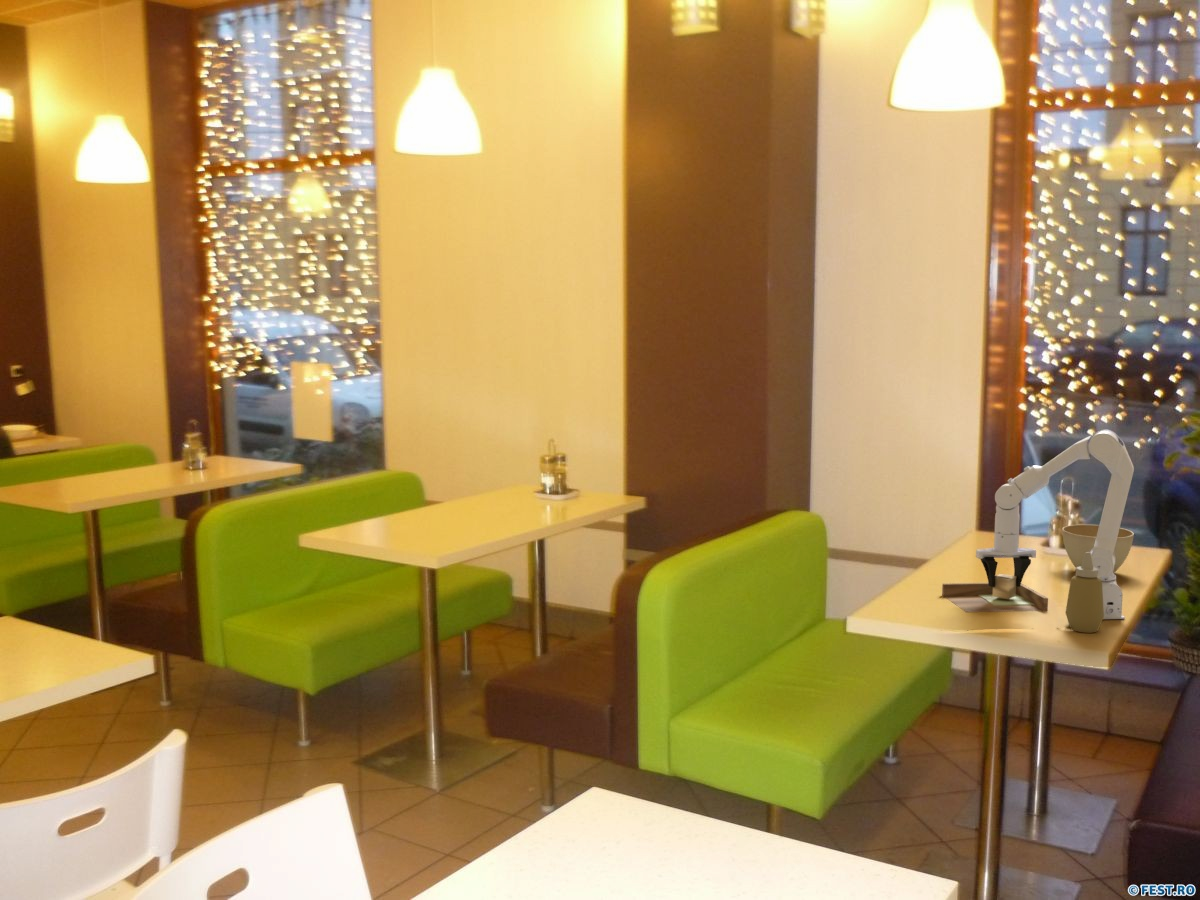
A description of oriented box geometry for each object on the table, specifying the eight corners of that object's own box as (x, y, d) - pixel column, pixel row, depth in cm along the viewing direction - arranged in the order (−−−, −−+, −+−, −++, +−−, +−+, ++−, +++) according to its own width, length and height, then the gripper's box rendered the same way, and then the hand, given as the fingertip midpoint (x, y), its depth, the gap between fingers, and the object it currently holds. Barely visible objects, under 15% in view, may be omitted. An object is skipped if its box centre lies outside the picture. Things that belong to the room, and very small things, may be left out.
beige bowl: (1046, 569, 318) (1048, 527, 317) (1096, 564, 324) (1099, 522, 323) (1094, 583, 301) (1096, 539, 300) (1146, 578, 307) (1149, 534, 306)
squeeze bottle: (1064, 623, 264) (1068, 547, 261) (1102, 627, 261) (1106, 550, 258) (1064, 632, 256) (1068, 554, 254) (1103, 636, 253) (1107, 557, 251)
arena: (1047, 613, 272) (1048, 598, 272) (966, 615, 271) (966, 599, 270) (1018, 596, 288) (1019, 582, 288) (942, 598, 287) (942, 583, 286)
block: (1015, 595, 282) (1016, 575, 281) (1008, 599, 278) (1009, 578, 278) (999, 593, 284) (1001, 573, 284) (992, 596, 281) (993, 576, 280)
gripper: (1028, 528, 284) (1025, 581, 286) (971, 529, 283) (969, 582, 285) (1040, 534, 277) (1038, 588, 279) (983, 535, 276) (980, 589, 278)
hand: (1004, 586), depth 281 cm, fingers closed on block, 6 cm apart
